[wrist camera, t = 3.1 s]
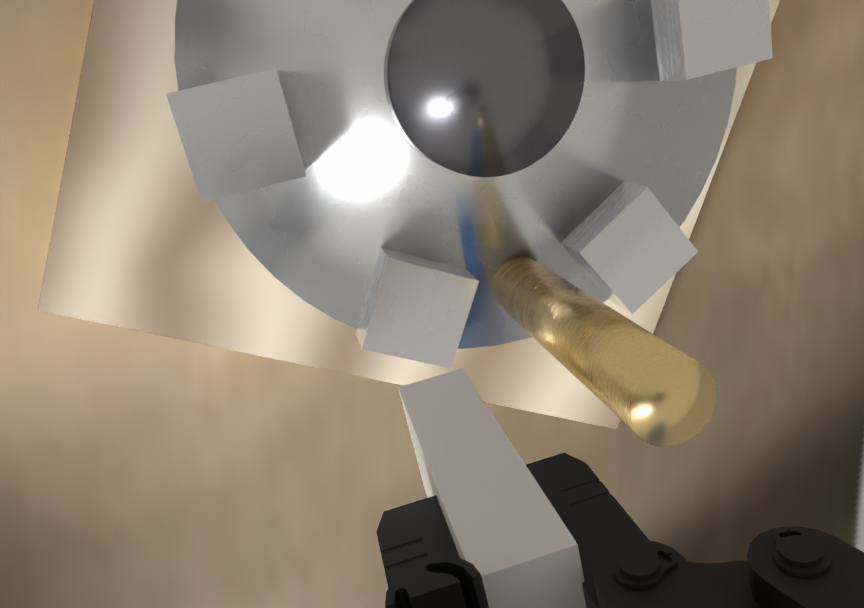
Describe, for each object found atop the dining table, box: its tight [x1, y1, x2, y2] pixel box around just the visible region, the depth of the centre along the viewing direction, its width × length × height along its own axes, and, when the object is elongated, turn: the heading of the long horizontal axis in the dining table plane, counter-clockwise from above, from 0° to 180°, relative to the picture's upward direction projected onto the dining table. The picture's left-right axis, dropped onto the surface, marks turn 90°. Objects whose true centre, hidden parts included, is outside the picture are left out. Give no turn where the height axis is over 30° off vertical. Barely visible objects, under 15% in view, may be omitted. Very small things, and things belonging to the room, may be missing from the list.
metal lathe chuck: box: [166, 0, 773, 447], centre depth 19 cm, size 18×18×14 cm
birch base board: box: [38, 0, 780, 429], centre depth 27 cm, size 24×24×2 cm
